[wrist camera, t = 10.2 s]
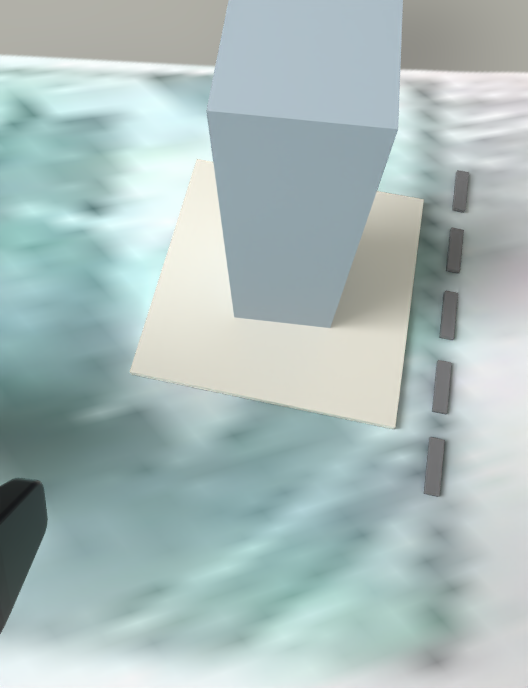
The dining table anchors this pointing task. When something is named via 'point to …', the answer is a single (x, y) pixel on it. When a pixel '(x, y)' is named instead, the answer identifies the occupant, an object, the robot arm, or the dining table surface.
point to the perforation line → (447, 333)
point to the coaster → (283, 338)
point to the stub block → (301, 146)
